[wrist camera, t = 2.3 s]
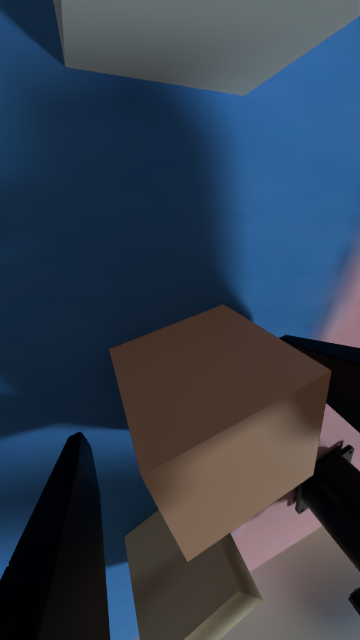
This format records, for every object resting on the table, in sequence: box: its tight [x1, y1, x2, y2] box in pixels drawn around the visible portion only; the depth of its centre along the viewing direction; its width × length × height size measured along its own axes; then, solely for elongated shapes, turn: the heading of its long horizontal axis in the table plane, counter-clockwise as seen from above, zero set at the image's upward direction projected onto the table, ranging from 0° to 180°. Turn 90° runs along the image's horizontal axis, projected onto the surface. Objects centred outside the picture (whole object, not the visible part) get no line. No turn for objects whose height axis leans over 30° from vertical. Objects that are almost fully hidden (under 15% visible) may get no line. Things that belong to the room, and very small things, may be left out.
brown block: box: [109, 304, 331, 562], centre depth 8 cm, size 5×5×5 cm
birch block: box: [124, 510, 263, 640], centre depth 13 cm, size 5×5×5 cm
